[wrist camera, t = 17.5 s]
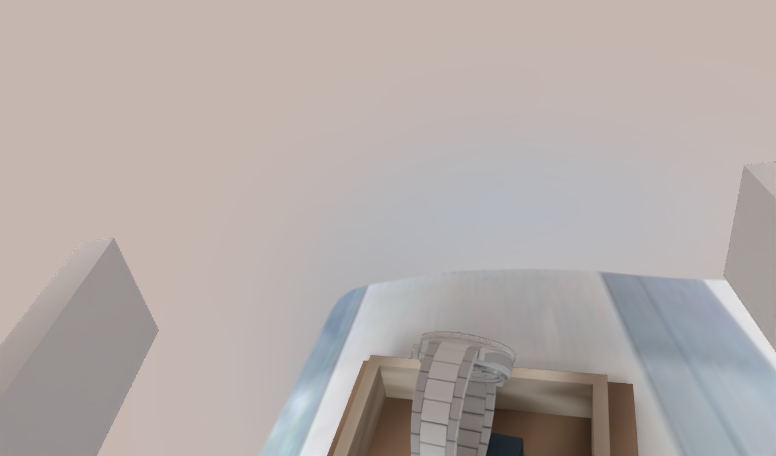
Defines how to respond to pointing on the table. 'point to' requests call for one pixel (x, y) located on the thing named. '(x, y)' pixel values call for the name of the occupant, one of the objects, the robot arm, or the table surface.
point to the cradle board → (495, 412)
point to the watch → (459, 396)
